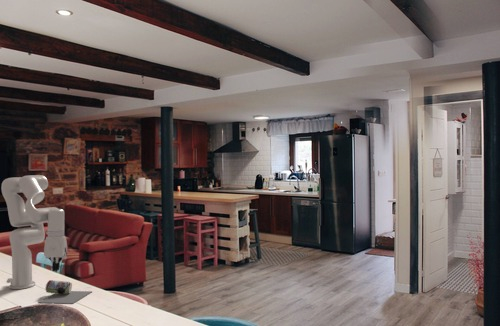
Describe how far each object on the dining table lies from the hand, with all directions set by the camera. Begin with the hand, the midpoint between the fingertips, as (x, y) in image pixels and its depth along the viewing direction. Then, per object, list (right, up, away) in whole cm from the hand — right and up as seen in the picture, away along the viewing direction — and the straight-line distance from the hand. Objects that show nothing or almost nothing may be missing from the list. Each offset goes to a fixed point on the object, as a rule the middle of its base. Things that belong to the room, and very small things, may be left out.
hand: (56, 270), depth 207 cm
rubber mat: (+5, -13, -1) cm, 14 cm away
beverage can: (-6, -10, +2) cm, 11 cm away
